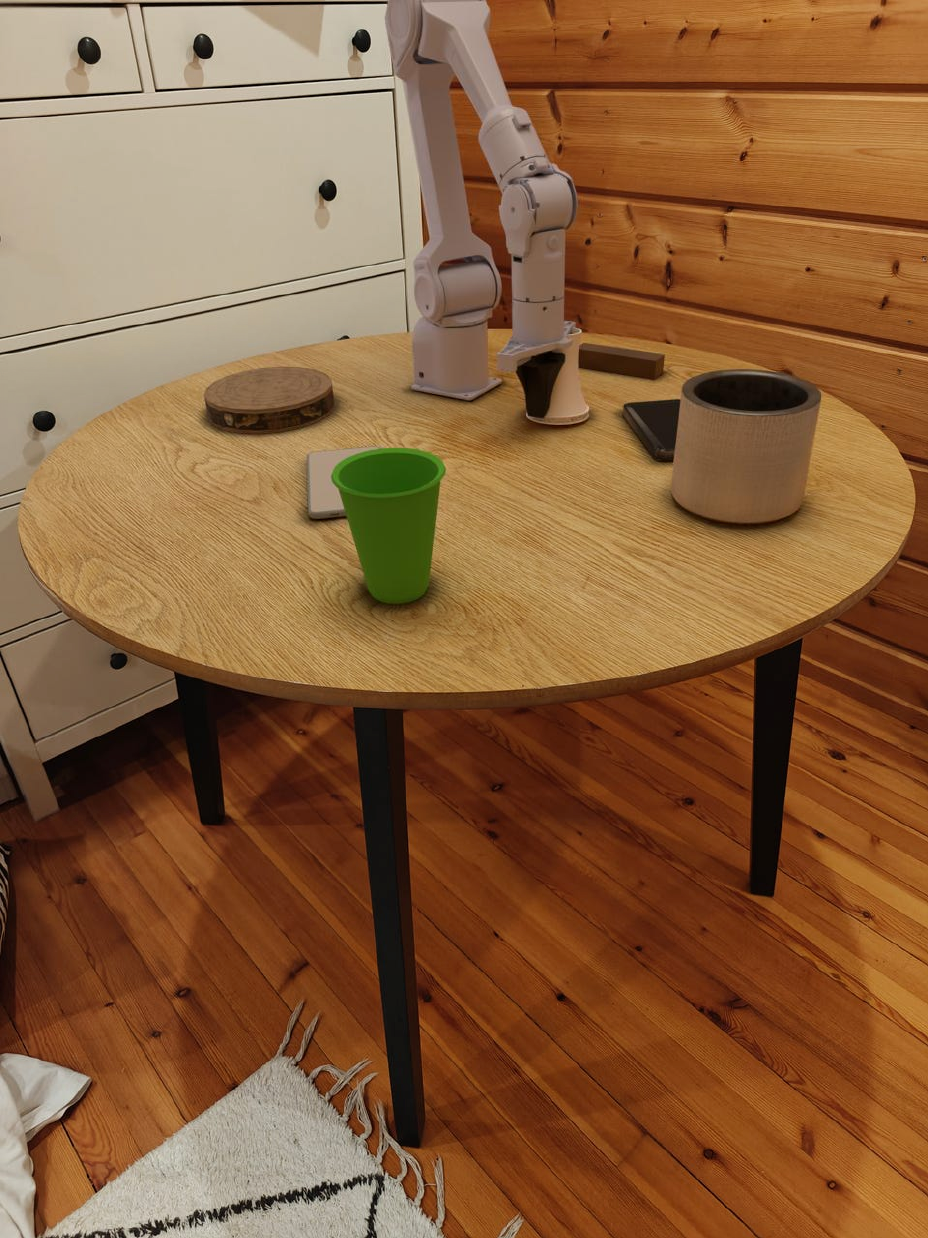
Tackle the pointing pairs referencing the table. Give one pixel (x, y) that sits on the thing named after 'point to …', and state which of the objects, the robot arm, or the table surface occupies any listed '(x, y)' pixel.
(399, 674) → the table surface
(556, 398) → the vase
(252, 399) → the wood slice
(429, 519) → the cup
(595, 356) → the bar
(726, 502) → the planter
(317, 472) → the smartphone
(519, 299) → the robot arm
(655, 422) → the black beveled tile
